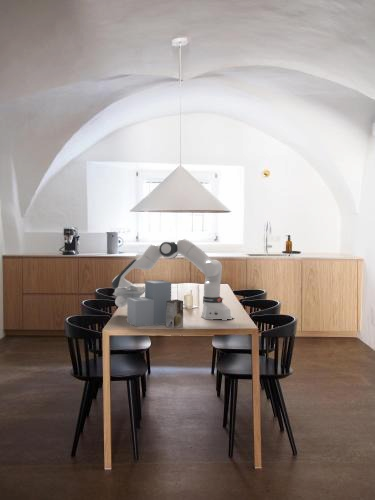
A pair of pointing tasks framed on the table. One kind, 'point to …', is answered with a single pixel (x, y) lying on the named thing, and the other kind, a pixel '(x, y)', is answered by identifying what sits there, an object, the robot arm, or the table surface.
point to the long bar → (138, 288)
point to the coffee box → (174, 314)
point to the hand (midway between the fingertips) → (133, 286)
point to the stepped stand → (150, 304)
